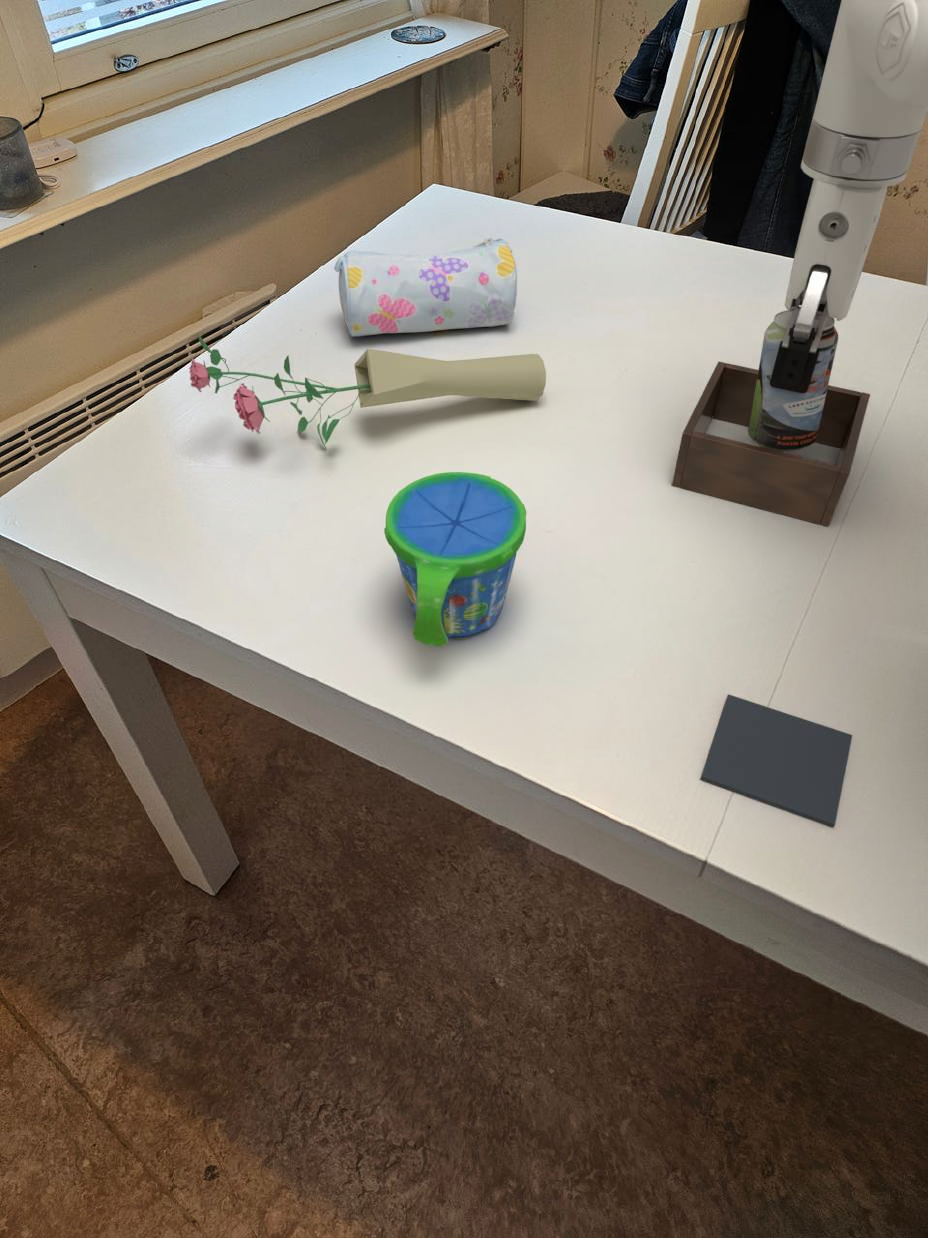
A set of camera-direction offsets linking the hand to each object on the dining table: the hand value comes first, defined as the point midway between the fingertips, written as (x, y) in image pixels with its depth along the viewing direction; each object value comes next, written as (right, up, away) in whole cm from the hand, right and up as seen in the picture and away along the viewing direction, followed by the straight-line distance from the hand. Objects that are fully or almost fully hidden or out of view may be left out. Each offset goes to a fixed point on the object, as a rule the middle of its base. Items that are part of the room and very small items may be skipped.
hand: (795, 368), depth 77 cm
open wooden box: (0, -7, +8) cm, 11 cm away
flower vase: (-38, -3, +13) cm, 40 cm away
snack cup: (-30, -21, -5) cm, 37 cm away
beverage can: (0, -5, +5) cm, 7 cm away
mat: (-7, -32, -15) cm, 36 cm away
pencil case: (-33, +13, +28) cm, 45 cm away
